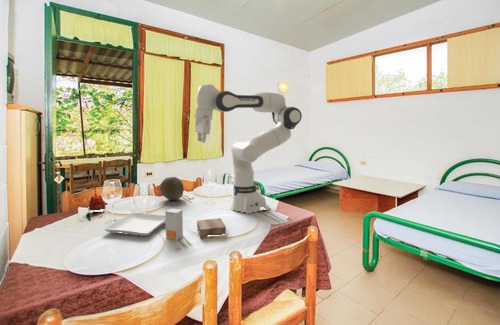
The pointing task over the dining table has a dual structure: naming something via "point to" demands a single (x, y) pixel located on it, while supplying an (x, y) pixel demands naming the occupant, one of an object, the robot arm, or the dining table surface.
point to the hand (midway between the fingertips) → (201, 141)
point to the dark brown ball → (172, 188)
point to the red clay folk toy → (96, 202)
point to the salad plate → (137, 224)
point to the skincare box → (174, 223)
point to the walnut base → (210, 227)
